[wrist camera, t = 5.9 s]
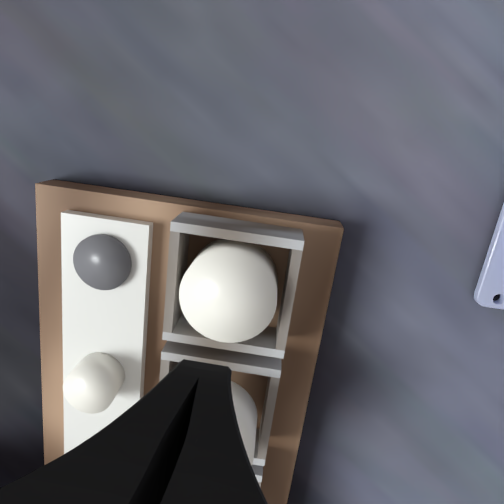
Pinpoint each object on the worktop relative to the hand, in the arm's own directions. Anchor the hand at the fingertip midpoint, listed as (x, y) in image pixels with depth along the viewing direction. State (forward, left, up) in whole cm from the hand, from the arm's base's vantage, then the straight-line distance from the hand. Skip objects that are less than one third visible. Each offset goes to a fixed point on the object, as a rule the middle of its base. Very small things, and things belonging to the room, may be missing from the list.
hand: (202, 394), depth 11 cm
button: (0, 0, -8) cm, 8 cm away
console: (+3, +6, -10) cm, 12 cm away
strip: (+6, +6, -8) cm, 12 cm away
